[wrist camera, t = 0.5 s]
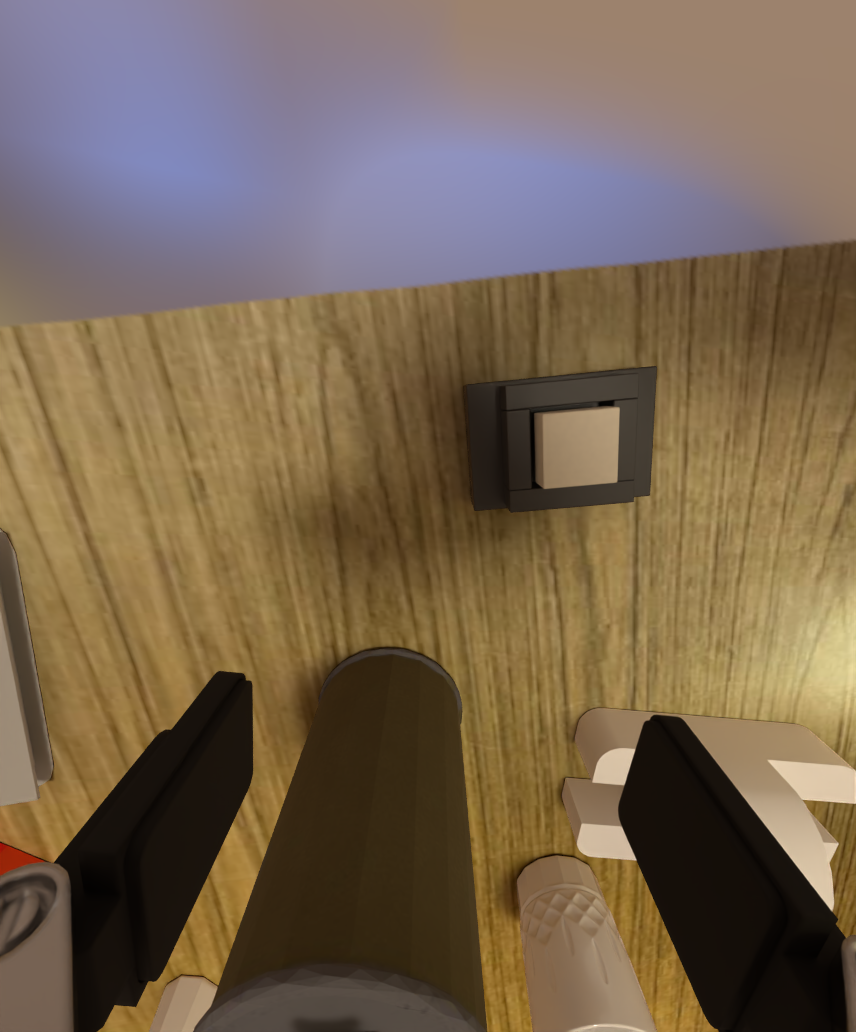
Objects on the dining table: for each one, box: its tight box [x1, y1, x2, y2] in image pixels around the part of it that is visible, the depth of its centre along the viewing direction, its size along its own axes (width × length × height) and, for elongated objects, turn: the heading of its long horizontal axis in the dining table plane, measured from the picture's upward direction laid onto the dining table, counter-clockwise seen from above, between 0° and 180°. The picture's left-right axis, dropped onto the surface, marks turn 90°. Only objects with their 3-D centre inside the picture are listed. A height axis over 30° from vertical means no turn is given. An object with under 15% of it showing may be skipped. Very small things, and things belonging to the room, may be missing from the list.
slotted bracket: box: [562, 708, 856, 911], centre depth 27 cm, size 18×10×10 cm, turn 85°
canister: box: [193, 648, 487, 1032], centre depth 21 cm, size 11×10×20 cm
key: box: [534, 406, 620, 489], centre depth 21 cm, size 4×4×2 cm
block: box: [463, 366, 657, 513], centre depth 23 cm, size 10×7×4 cm
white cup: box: [517, 855, 658, 1032], centre depth 31 cm, size 8×8×10 cm
